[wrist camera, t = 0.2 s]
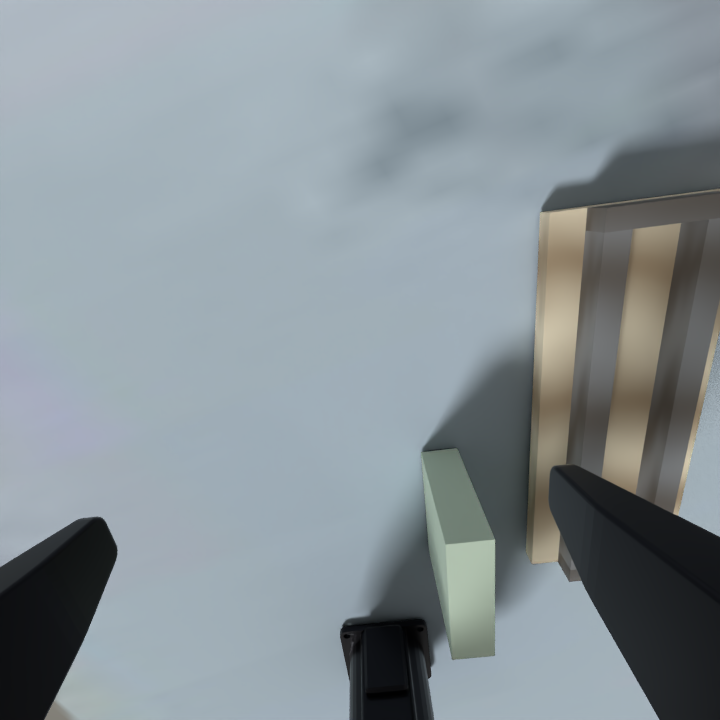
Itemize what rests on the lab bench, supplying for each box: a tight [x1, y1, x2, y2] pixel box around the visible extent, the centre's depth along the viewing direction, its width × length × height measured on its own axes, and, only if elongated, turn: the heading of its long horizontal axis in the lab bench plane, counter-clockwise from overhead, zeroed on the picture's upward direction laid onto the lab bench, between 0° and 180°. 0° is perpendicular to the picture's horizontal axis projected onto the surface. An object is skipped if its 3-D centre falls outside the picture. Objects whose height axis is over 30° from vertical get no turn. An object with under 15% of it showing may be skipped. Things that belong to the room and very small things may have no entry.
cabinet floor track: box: [526, 189, 720, 582], centre depth 22 cm, size 22×9×2 cm, turn 7°
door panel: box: [421, 448, 495, 660], centre depth 22 cm, size 8×2×7 cm, turn 7°
